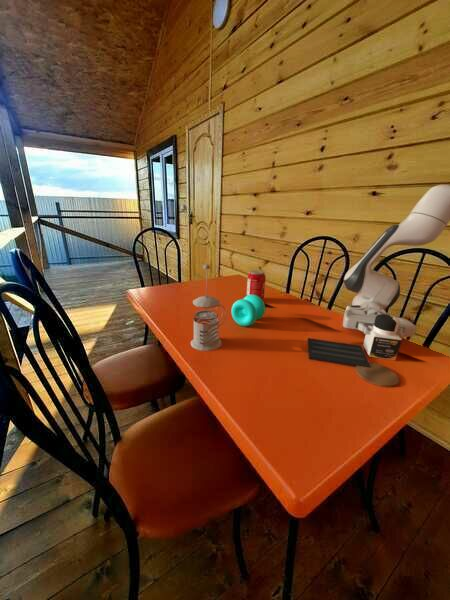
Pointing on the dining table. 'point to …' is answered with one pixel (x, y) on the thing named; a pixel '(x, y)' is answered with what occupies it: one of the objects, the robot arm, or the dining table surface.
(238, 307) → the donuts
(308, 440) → the dining table surface
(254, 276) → the soda can
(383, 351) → the medicine bottle
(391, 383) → the coaster
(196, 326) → the french press
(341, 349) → the scrub mat
